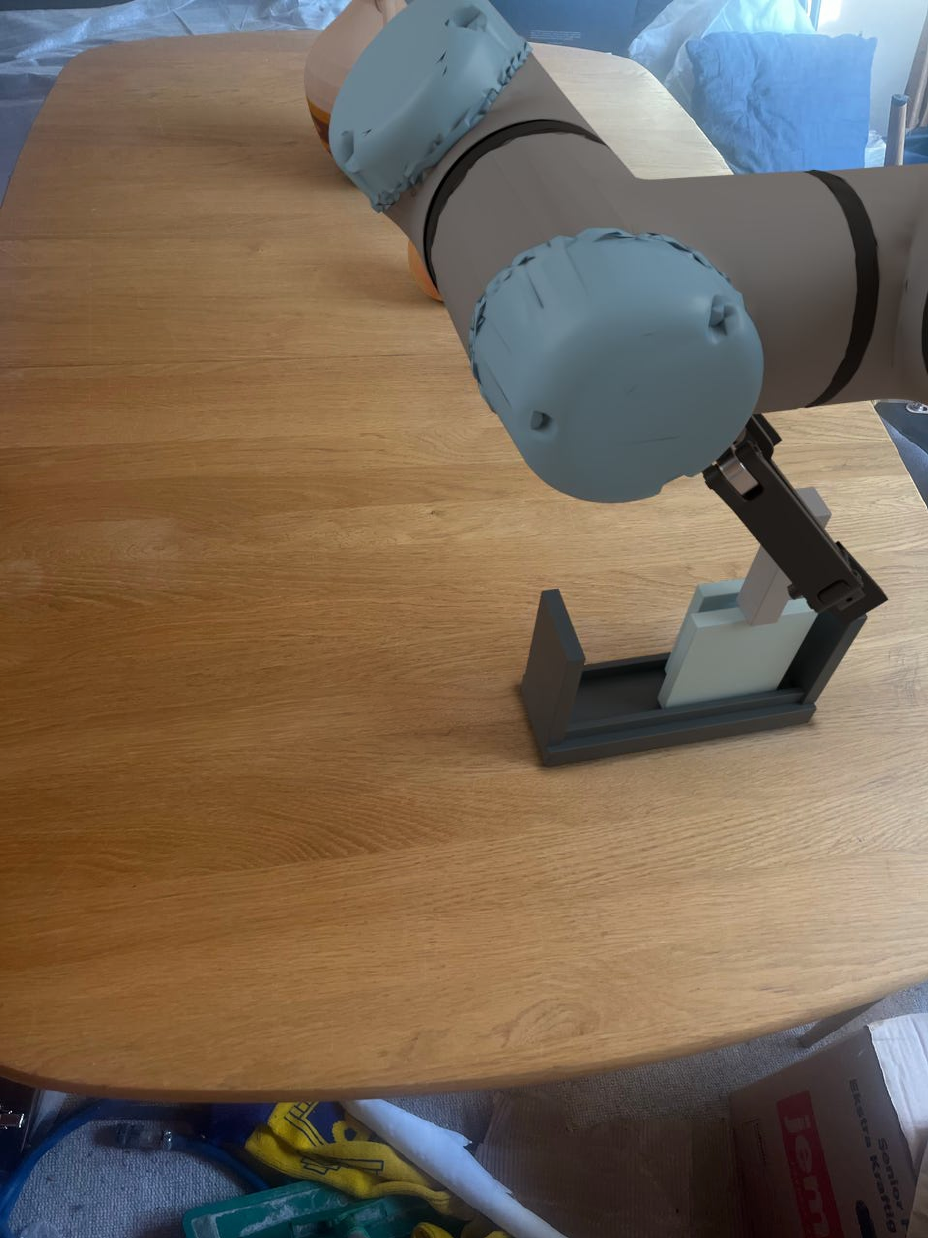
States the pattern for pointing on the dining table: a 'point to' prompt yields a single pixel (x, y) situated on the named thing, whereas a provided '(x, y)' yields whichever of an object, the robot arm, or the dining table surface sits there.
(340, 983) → the dining table surface
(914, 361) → the robot arm
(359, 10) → the striped pot
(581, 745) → the window frame
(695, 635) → the pane
